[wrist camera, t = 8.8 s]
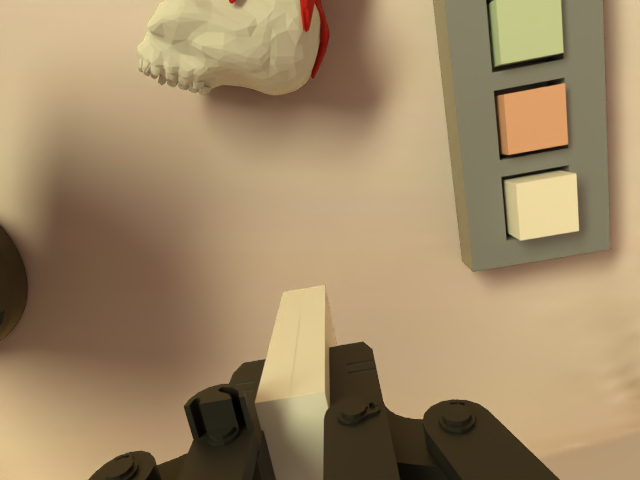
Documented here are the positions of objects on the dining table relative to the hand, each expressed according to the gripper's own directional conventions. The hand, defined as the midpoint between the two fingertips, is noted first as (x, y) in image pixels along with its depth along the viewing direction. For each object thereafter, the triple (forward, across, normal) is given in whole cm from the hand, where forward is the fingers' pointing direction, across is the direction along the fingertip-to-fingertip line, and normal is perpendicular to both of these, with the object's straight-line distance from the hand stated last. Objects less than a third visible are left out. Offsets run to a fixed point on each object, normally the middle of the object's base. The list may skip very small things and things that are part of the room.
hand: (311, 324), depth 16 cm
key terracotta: (+23, +17, +4) cm, 29 cm away
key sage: (+23, +17, +11) cm, 30 cm away
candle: (+24, -2, +15) cm, 29 cm away
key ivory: (+22, +17, -2) cm, 28 cm away
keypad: (+24, +17, +7) cm, 30 cm away
